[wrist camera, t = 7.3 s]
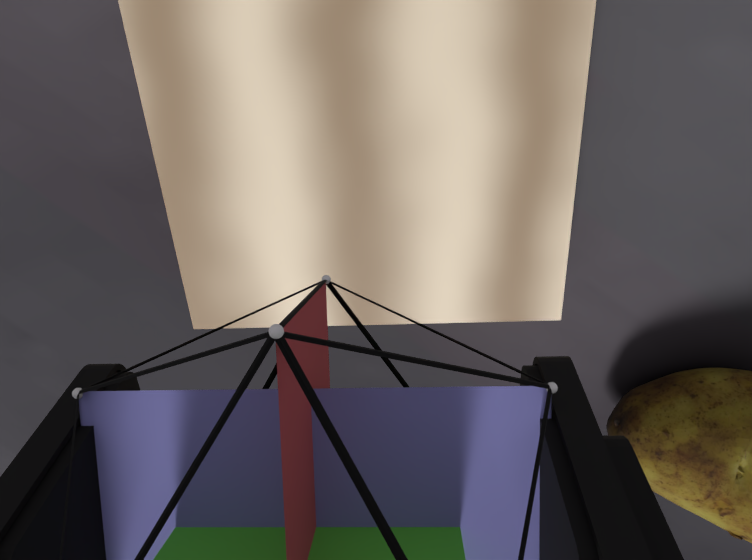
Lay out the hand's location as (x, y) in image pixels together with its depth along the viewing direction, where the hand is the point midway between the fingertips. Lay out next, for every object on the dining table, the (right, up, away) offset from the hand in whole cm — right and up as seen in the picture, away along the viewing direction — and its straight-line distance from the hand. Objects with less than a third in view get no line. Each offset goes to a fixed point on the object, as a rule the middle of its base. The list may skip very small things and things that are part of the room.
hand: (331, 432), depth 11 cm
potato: (+19, -4, +22) cm, 29 cm away
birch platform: (0, +8, +15) cm, 17 cm away
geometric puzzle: (0, +1, +1) cm, 1 cm away
